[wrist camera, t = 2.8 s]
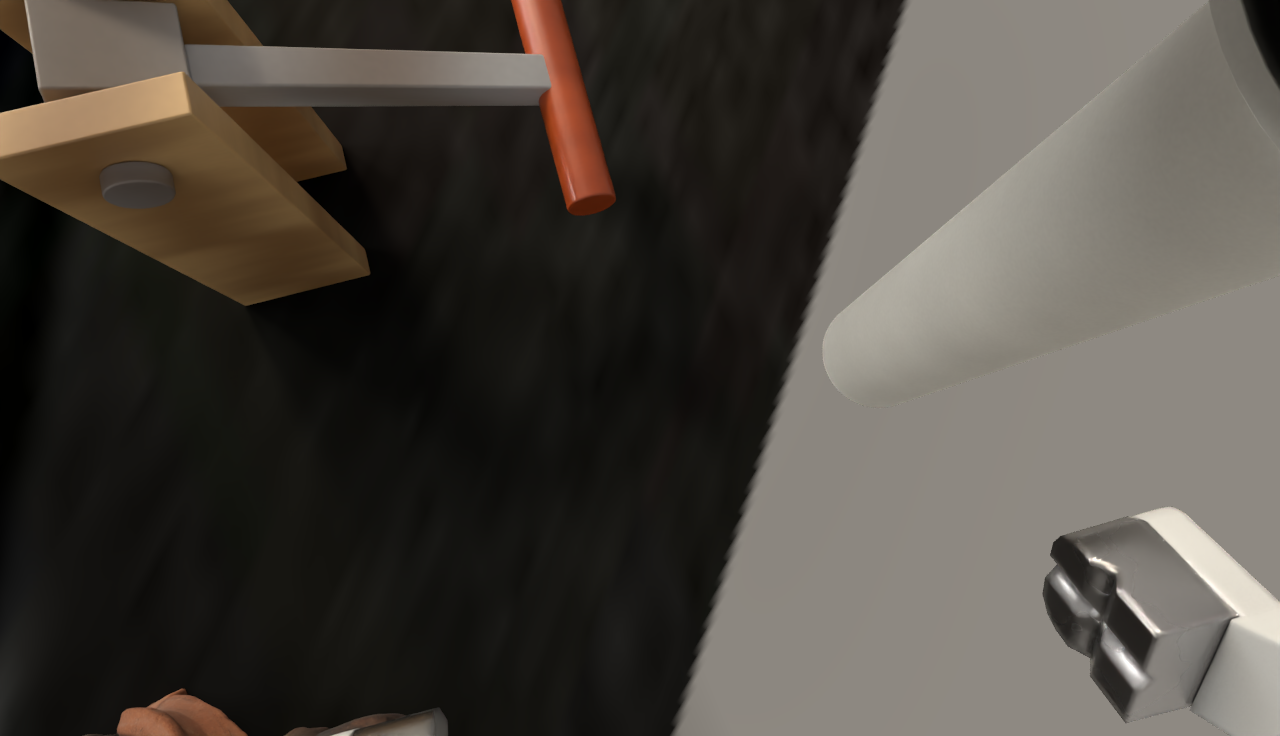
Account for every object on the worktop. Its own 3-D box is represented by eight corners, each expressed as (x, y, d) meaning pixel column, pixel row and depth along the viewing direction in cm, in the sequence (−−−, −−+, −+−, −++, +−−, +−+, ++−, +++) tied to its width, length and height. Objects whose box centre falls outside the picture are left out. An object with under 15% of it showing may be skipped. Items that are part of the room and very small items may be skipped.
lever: (534, -11, 25) (560, -65, 23) (598, 221, 24) (631, 185, 22) (29, -46, 19) (3, -126, 17) (81, 264, 18) (59, 219, 16)
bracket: (445, 98, 31) (308, -215, 17) (499, 315, 30) (397, 159, 16) (137, 172, 30) (-260, -97, 17) (178, 398, 29) (-218, 307, 15)
